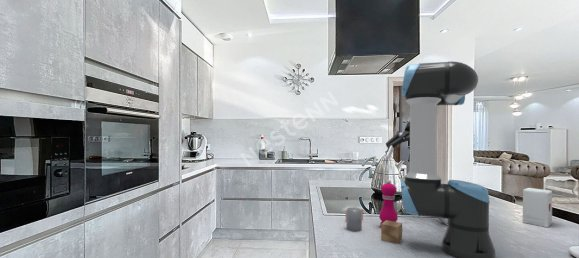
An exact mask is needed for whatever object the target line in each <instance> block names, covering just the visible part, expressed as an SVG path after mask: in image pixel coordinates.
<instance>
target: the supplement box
mask: <svg viewBox="0 0 579 258" xmlns="http://www.w3.org/2000/svg"><path fill="white" fill-rule="evenodd" d="M522 223H525V224H529V225H535V226H539V227H545V228H549V227H550V226H551V225H552V223H553V191H552V190H549V189H541V188H534V187H527V188H524V189H523V190H522Z"/></svg>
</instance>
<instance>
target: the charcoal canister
mask: <svg viewBox="0 0 579 258" xmlns="http://www.w3.org/2000/svg"><path fill="white" fill-rule="evenodd" d="M361 209H362V208H360V209H359V207H347V208H346V210H347V222H346V230H347V231H350V232H355V233H356V232H361V231H362V227H363V225H362V224H363V222H362V221H363V220H362V210H361Z"/></svg>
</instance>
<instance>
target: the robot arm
mask: <svg viewBox="0 0 579 258" xmlns="http://www.w3.org/2000/svg"><path fill="white" fill-rule="evenodd" d="M402 79H403V80H402V85H401V86H402V88H401V96H402V97H404V98H405V102H406V103H407V104H408V105H409V107H410V108H409V117H408V121H407V123H406V126H405V128H404V130H403V132H400V131H399V130H398V131H396V133H395V135H393V136H392V137H391V138H389V140H388V141H387V142H386V143H385V145H386V148H387V149H386V152H387V153H386V155H385V156H386V158H387V160H388V161H389V160H390V159H391V157H392V154H393V152H394V148H396V147H397V146H399V145H400V144H402V143H406V142H409V171H408V172H407V174H405V175H404V180H401V181H400V192H401V198H402V199H401V200H402V205H403V209H404V212H405V214H408V215H412V216H417V217H429V218H438V219H446V220H447V227H446V230H445V233H444V235H443V237H442V241H441V249H442V251H444V252H445V253H446V254H448V255H450V256H451V257H455V258H496V249H495V246H494V244H493V243H494V242H493V241H492V238H491V236H490V229H489V228H490V227H489V226H490V224H489V223H490V222H489V221H490V218H489V217H490V195H489V190H488V189H487V187H485V186H484V185H481V184H477V183H474V182H469V181H465V180H459V179H449V180H448V181H447V183H442V178H441V177H440V175H438V173H437V106H461V105H464V104H465V100H466V96H467V95H468V94H471V93H472V92H473V91H474V90H475V89H476V88H477V85H478V83H479V76H478V74H477V72H476V71H475V69H474V68H472V67H471V66H469V65H468V64H466V63H463V62H460V61H451V60H450V61H442V62H441V61H440V62H423V63H422V62H419V63H415V64H409V65H407V66H406V67H405V70H404V75H403V78H402Z"/></svg>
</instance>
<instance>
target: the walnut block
mask: <svg viewBox="0 0 579 258" xmlns="http://www.w3.org/2000/svg"><path fill="white" fill-rule="evenodd" d="M380 229H381V230H380V231H381V232H380V233H381V235H380V238H381V239H380V240H381V241H383V242H387V243H393V244H396V245H397V244H400V242H401V241H402V240H403V222H399V221H396V222H394V221H388V220H386V221H384V222H383V223H382V224H381V227H380Z"/></svg>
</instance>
